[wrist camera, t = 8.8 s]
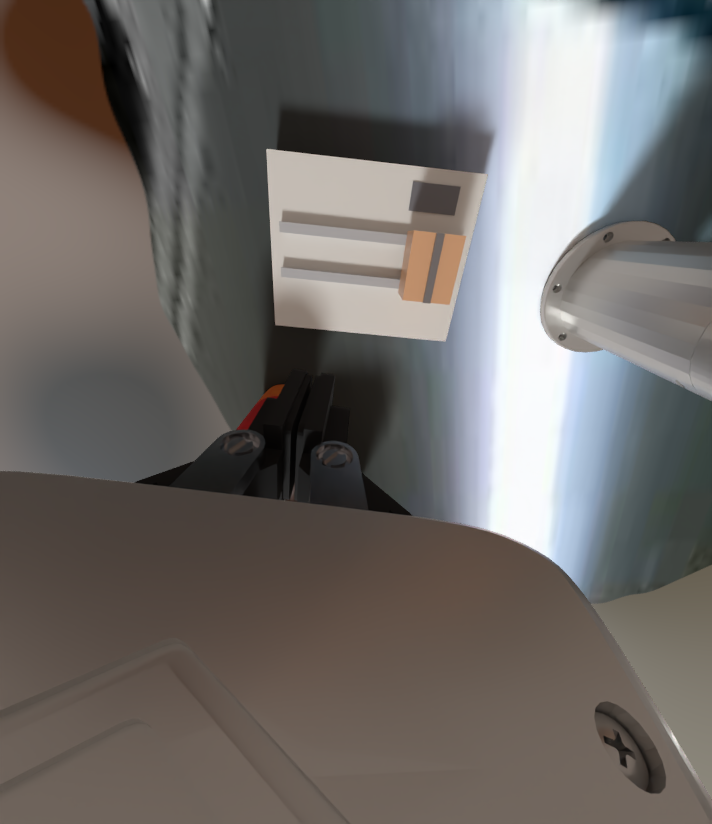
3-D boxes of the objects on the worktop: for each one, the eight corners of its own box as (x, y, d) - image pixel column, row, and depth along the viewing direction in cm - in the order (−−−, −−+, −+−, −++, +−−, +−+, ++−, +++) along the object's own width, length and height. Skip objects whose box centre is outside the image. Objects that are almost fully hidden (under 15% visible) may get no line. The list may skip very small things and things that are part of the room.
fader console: (475, 180, 27) (491, 172, 23) (439, 333, 34) (447, 343, 31) (276, 157, 26) (263, 146, 23) (281, 318, 33) (273, 327, 30)
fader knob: (450, 235, 26) (467, 236, 22) (437, 294, 29) (450, 305, 25) (406, 230, 26) (414, 230, 22) (396, 290, 29) (402, 300, 24)
